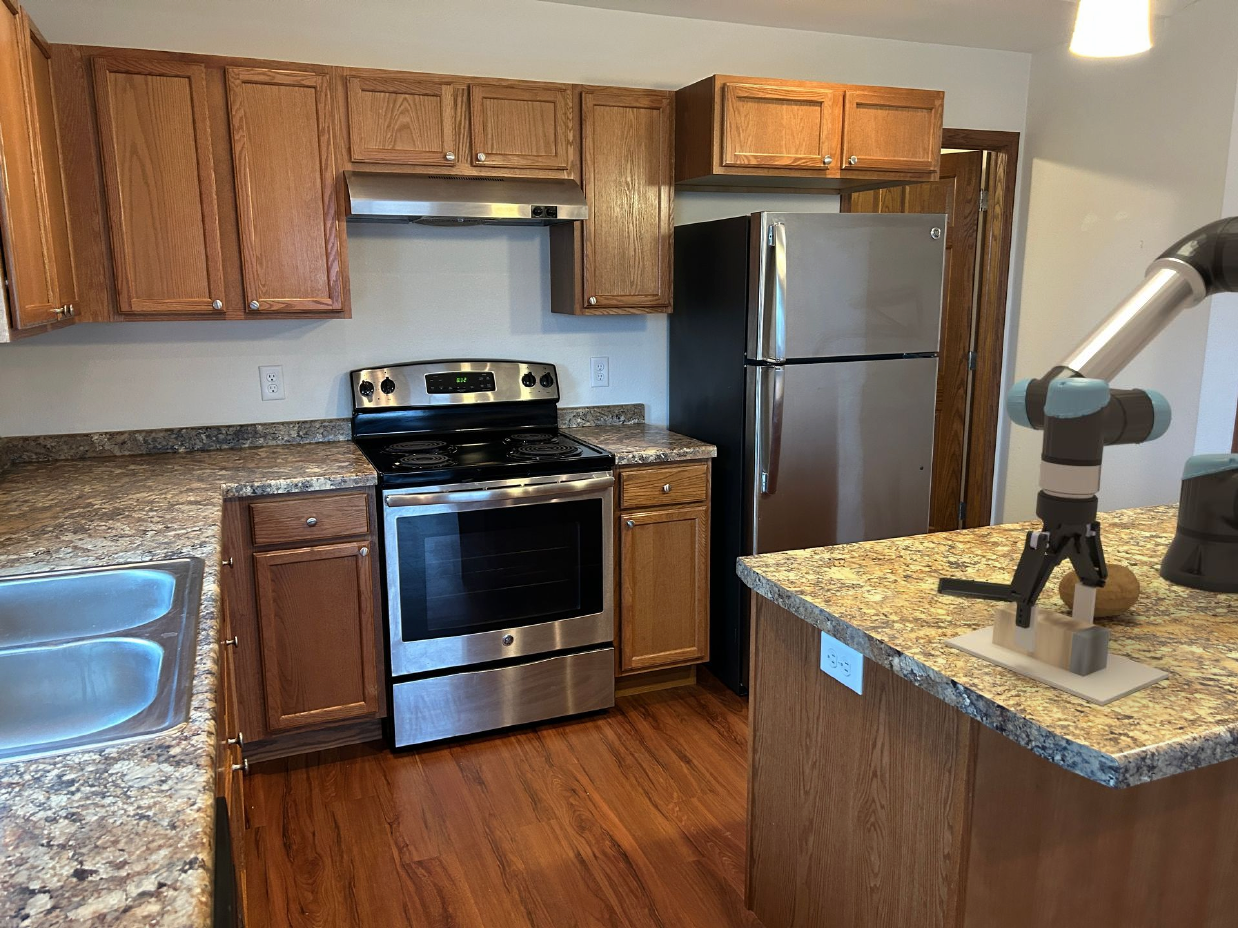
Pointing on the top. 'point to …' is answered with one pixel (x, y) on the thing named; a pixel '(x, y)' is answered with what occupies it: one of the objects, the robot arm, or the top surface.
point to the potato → (1106, 591)
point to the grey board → (1094, 687)
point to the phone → (973, 589)
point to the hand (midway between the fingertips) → (1053, 638)
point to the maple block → (1057, 640)
